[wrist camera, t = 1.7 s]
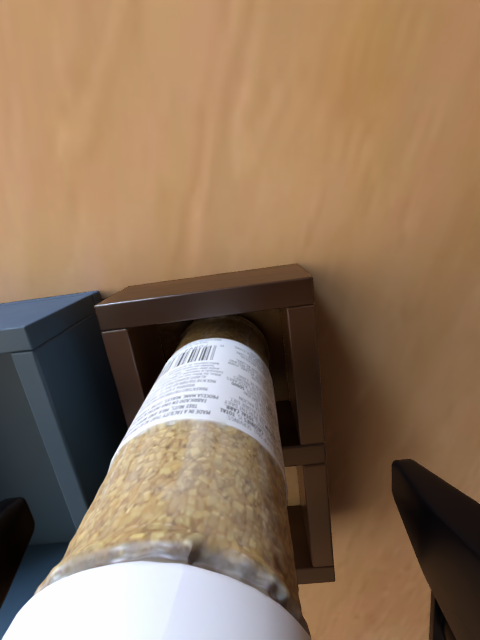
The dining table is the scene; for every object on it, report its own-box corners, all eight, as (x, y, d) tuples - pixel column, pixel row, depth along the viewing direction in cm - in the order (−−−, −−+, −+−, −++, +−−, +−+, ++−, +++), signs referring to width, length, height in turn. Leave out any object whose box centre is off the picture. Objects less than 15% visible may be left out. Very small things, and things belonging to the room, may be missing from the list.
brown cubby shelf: (319, 517, 19) (335, 582, 15) (186, 529, 19) (173, 594, 16) (297, 263, 14) (313, 276, 11) (127, 286, 15) (92, 305, 12)
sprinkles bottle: (191, 403, 17) (-4, 1019, 4) (165, 319, 15) (-256, 836, 3) (279, 386, 16) (387, 1019, 3) (261, 299, 15) (326, 799, 2)
